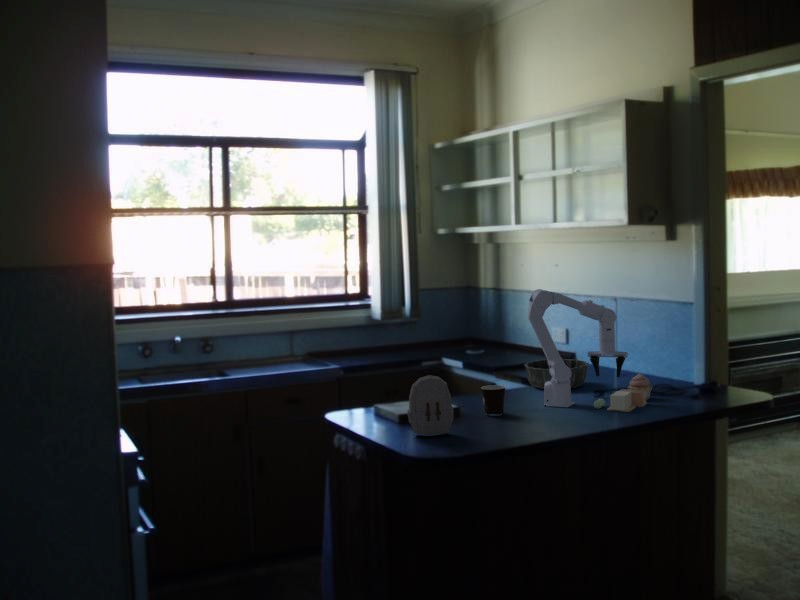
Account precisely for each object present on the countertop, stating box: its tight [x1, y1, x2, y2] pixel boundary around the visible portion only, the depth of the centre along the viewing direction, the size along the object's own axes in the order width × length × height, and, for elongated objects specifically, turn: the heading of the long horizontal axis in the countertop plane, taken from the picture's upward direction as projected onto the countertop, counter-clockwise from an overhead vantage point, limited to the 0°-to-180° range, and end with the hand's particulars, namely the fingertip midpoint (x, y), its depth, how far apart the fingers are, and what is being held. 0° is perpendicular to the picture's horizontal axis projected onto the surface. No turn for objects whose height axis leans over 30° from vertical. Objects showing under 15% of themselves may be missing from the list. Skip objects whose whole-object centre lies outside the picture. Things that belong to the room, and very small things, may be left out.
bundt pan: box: [524, 358, 589, 390], centre depth 337 cm, size 26×26×10 cm
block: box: [609, 390, 632, 410], centre depth 287 cm, size 9×5×5 cm, turn 148°
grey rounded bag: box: [407, 374, 455, 435], centre depth 259 cm, size 15×8×20 cm, turn 98°
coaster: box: [606, 406, 637, 413], centre depth 287 cm, size 8×8×1 cm
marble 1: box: [593, 399, 603, 410], centre depth 290 cm, size 3×3×3 cm
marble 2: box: [597, 398, 606, 407], centre depth 293 cm, size 3×3×3 cm
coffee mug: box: [480, 384, 506, 414], centre depth 289 cm, size 12×9×10 cm
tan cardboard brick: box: [619, 388, 647, 407], centre depth 294 cm, size 9×5×5 cm, turn 59°
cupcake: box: [627, 372, 654, 401], centre depth 303 cm, size 9×9×10 cm
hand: (608, 376), depth 299 cm, fingers open, 7 cm apart
